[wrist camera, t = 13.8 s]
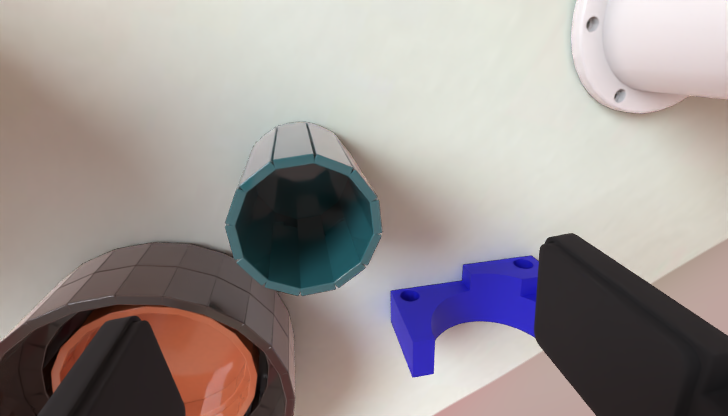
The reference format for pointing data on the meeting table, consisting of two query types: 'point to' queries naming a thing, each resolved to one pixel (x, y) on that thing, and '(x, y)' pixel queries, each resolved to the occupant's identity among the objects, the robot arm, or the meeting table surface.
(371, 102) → the meeting table surface
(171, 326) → the small bowl
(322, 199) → the cup
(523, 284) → the blue pipe clamp
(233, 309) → the large bowl
